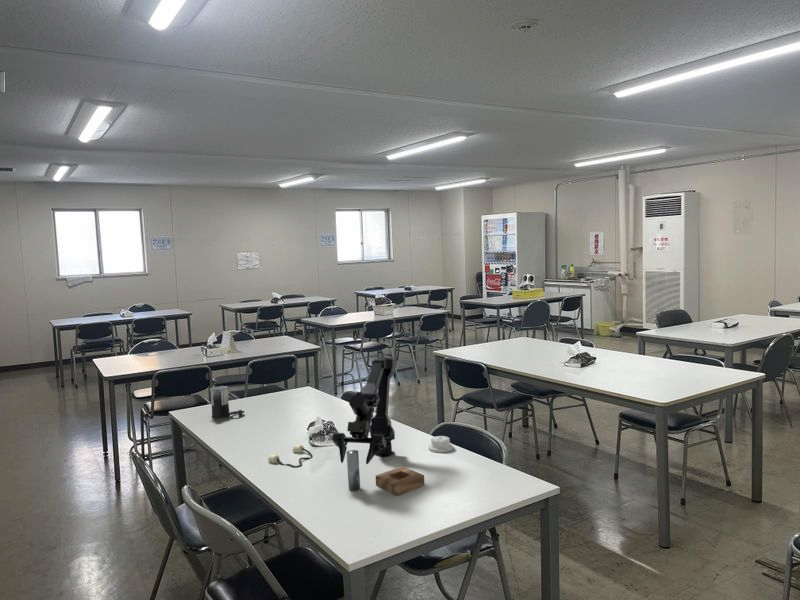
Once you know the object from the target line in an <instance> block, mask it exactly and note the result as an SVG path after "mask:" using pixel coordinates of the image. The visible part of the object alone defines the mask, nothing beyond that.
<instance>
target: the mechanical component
mask: <svg viewBox="0 0 800 600" xmlns="http://www.w3.org/2000/svg"><path fill="white" fill-rule="evenodd" d="M430 440H431V441H430V443H429V444H428V446H427V447H428V448H427V449H428V450H429V451H430V452H433V453H447V452H450V451H452V450H454V445H453V444H452V443H451V440H450V437H448V436H445V435H438V436H437V435H436V436H434V437H432V438H431V439H430Z"/></svg>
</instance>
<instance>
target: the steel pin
mask: <svg viewBox="0 0 800 600" xmlns="http://www.w3.org/2000/svg"><path fill="white" fill-rule="evenodd" d="M359 458H360V457H359V450H357V449H356V450H355V449H351V450H346V464H347V465H346V466H347V483H348V490H349V491H350V492H357V491H359V490H361V478H360V477H361V475H360V461H359V460H360V459H359Z"/></svg>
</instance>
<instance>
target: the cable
mask: <svg viewBox="0 0 800 600" xmlns="http://www.w3.org/2000/svg"><path fill="white" fill-rule="evenodd" d="M292 452H293V453H295V454H301V453H304V452H305V453H307V454H308V455H310V457H309V456H308V457H300V458H299V459H298V463H299V464H298V465H293V464H290V463H283V462H282V461H281V460H280V456H279V455H277V454H270V455H268V459H267V461H268V463H271V464H277V463H279V464H280V465H281V466H288V467H291V468H295V469H297V468H300V467H302V466H303V462H302V460H310V459H312V458H313V454H312V453H311V452H310V451H309V450H308V449H305V447H304V446H303V445H302V444H300V445H299V444H296V445H294V446H293V448H292Z"/></svg>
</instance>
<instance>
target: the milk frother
mask: <svg viewBox="0 0 800 600" xmlns="http://www.w3.org/2000/svg"><path fill="white" fill-rule="evenodd" d="M228 388H229V387H228V386H227V385H219V386H212V387H211V388H209V390H210V400H211V401H210V403H211V417H212V418H214V419H218V418H219V419H220V418H225V417H229V416H230V415H231V416H232V415H238V416H242V415H243V414H244V413H245V410H242V409H238V410H237V411H231V412H230V406H229V405H230V404H229V394H228V393H229V392H228Z"/></svg>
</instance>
